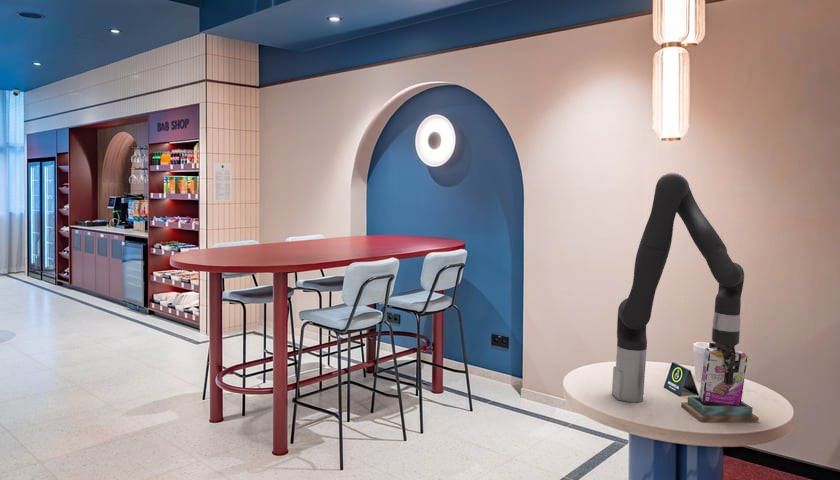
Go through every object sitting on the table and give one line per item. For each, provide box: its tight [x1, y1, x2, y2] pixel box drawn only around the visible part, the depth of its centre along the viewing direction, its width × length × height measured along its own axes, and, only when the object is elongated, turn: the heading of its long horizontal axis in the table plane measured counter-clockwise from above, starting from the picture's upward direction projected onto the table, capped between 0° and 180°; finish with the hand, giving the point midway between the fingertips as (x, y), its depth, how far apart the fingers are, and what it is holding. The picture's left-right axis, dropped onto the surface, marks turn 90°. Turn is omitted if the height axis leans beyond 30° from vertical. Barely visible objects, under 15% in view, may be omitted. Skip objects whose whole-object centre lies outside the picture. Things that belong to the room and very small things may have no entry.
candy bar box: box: [698, 348, 748, 406], centre depth 186 cm, size 11×5×16 cm, turn 79°
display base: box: [680, 395, 759, 423], centre depth 187 cm, size 18×12×4 cm, turn 93°
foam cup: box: [692, 341, 710, 383], centre depth 219 cm, size 10×9×13 cm
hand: (722, 380), depth 186 cm, fingers closed on candy bar box, 5 cm apart
